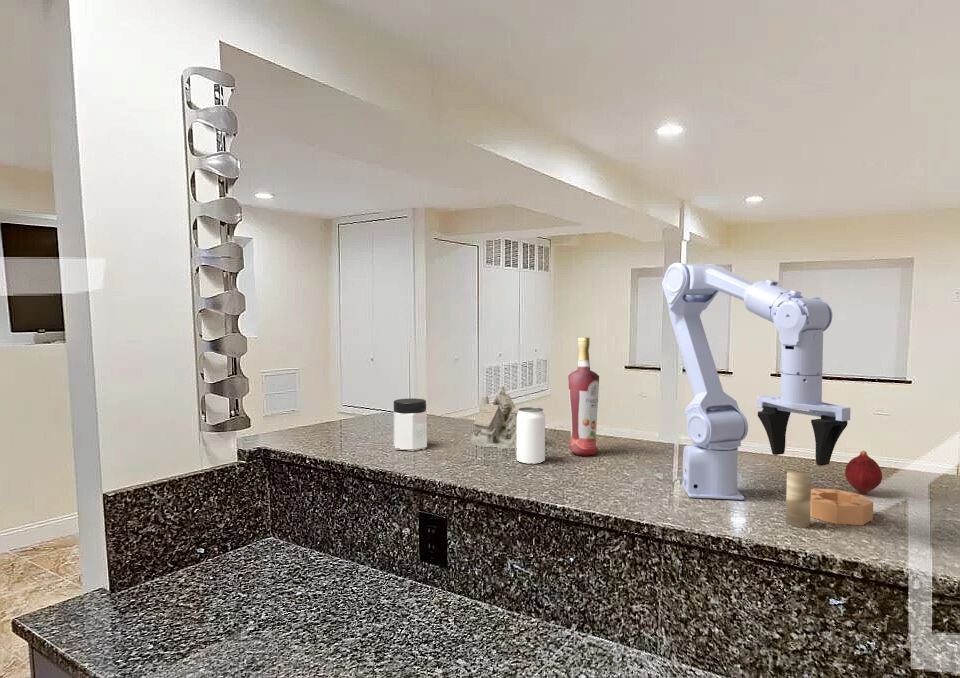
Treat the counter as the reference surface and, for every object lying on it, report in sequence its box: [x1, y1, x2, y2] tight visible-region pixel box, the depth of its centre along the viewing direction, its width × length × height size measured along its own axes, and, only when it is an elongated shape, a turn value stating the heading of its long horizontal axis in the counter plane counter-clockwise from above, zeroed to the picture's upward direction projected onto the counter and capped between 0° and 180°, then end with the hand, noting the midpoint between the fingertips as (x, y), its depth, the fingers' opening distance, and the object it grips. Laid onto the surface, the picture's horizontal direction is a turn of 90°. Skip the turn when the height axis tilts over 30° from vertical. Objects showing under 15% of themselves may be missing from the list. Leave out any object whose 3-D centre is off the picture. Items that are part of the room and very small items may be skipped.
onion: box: [844, 450, 883, 495], centre depth 109 cm, size 6×6×8 cm
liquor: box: [567, 337, 600, 457], centre depth 141 cm, size 7×7×28 cm
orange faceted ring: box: [810, 488, 874, 526], centre depth 98 cm, size 9×9×3 cm
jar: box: [392, 397, 428, 449], centre depth 148 cm, size 9×8×12 cm
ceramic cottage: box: [469, 385, 520, 449], centre depth 153 cm, size 16×16×15 cm
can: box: [516, 406, 546, 464], centre depth 134 cm, size 6×6×12 cm
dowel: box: [785, 471, 812, 529], centre depth 94 cm, size 3×3×8 cm
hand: (799, 459), depth 93 cm, fingers open, 7 cm apart
